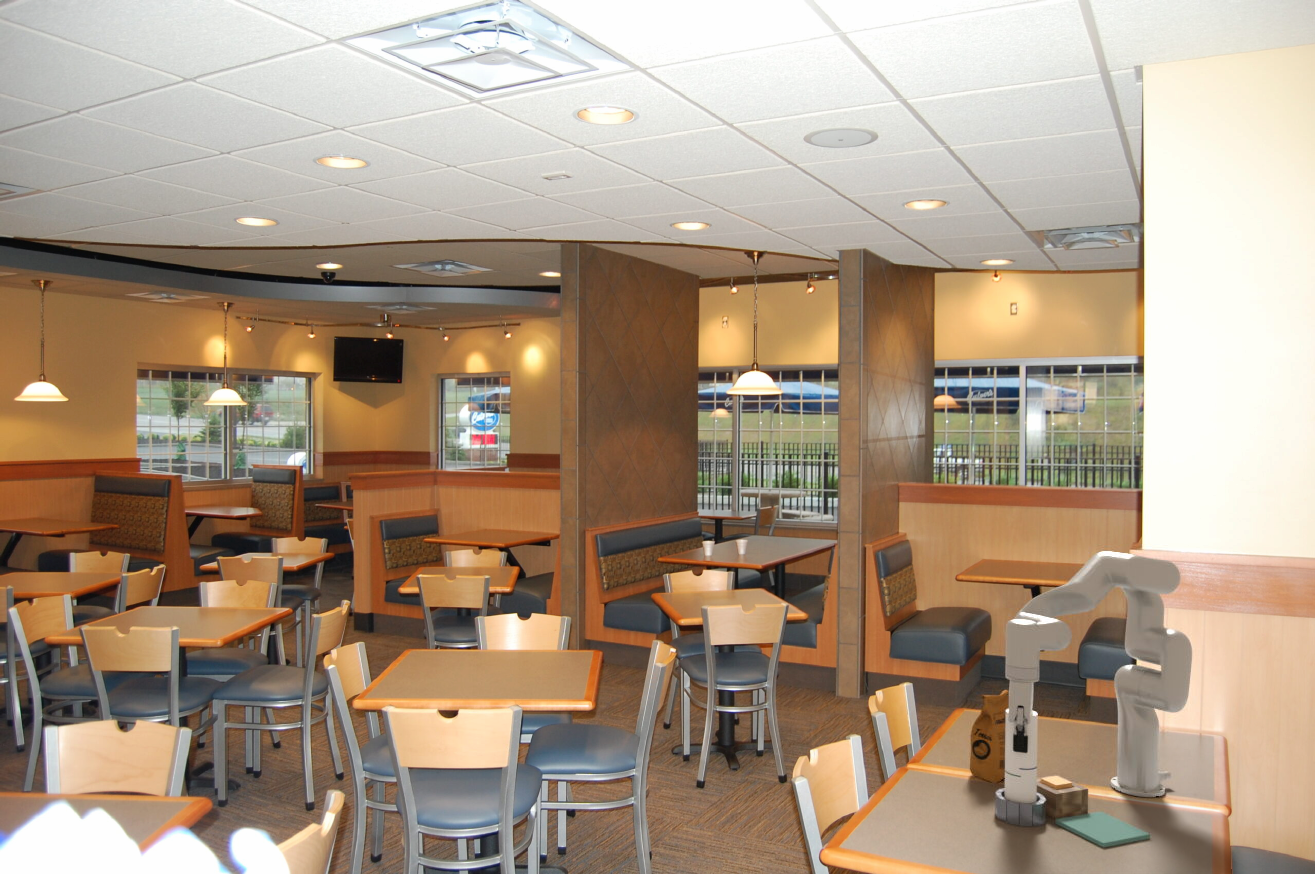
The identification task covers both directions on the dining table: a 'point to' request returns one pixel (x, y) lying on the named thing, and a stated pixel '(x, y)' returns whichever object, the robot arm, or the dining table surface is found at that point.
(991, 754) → the coffee package
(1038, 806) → the collar
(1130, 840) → the mat
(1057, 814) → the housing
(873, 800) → the dining table surface
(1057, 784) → the tan block
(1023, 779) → the cylindrical container
